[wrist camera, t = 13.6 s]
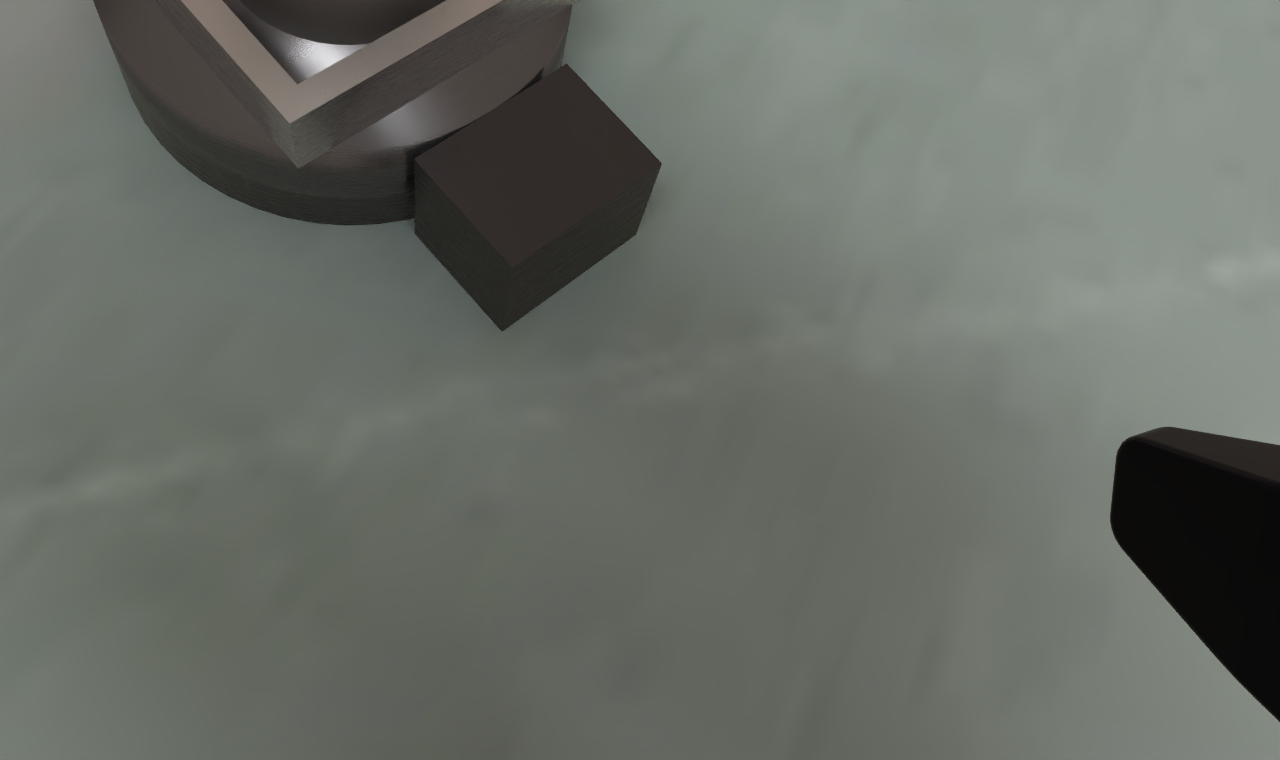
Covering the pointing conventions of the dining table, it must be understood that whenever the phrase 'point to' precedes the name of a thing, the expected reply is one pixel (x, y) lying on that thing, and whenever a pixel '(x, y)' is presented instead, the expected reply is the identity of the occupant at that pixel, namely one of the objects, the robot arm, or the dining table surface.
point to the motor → (400, 132)
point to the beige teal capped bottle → (338, 17)
